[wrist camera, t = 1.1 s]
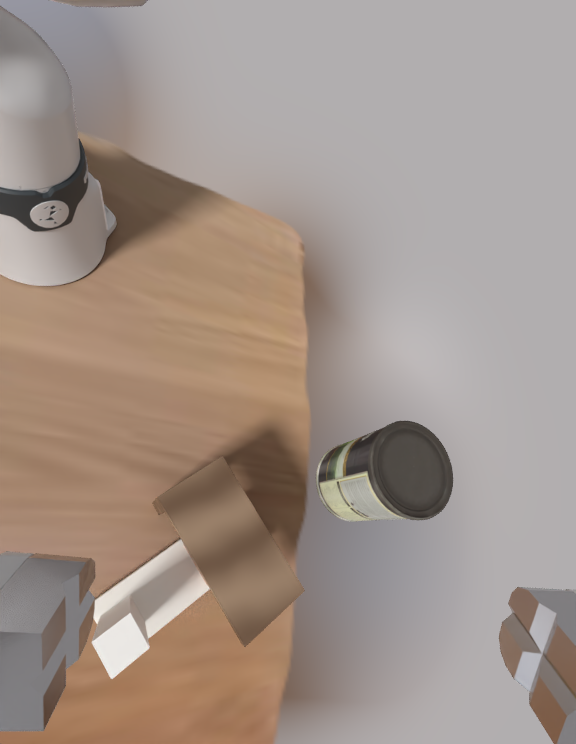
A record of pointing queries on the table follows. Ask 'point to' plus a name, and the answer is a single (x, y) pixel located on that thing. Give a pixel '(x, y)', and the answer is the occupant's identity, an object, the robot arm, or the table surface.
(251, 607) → the shelf
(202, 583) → the white pillar stand
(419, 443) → the coffee can
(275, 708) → the table surface
